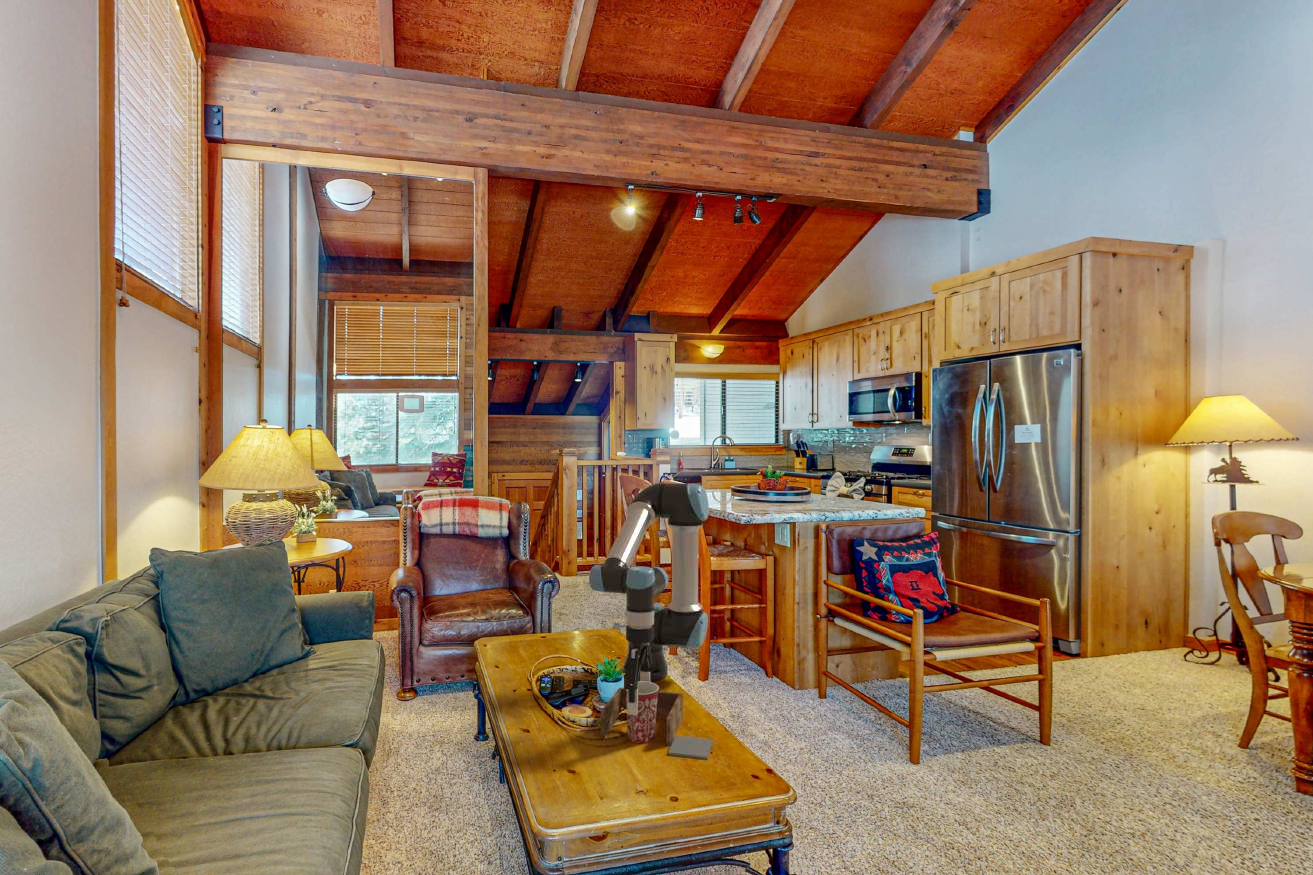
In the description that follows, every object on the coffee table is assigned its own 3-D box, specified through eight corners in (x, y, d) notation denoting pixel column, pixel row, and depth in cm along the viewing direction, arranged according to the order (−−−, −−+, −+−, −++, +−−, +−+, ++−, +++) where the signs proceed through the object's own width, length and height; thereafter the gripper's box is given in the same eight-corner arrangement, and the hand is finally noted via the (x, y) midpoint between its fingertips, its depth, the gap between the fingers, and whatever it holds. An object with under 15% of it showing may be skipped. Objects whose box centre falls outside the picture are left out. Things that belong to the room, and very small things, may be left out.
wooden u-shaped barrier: (619, 711, 200) (619, 687, 200) (682, 717, 196) (683, 693, 196) (600, 737, 183) (600, 711, 183) (670, 745, 178) (670, 718, 178)
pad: (675, 737, 183) (675, 735, 183) (712, 741, 181) (712, 739, 181) (668, 754, 173) (668, 752, 173) (707, 759, 171) (707, 756, 171)
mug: (663, 741, 181) (664, 690, 181) (632, 747, 177) (632, 695, 177) (645, 722, 192) (645, 674, 192) (615, 727, 189) (615, 679, 189)
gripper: (637, 613, 198) (637, 686, 197) (613, 636, 173) (612, 720, 173) (663, 615, 196) (662, 689, 196) (642, 639, 172) (641, 724, 171)
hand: (638, 704), depth 184 cm, fingers open, 13 cm apart
